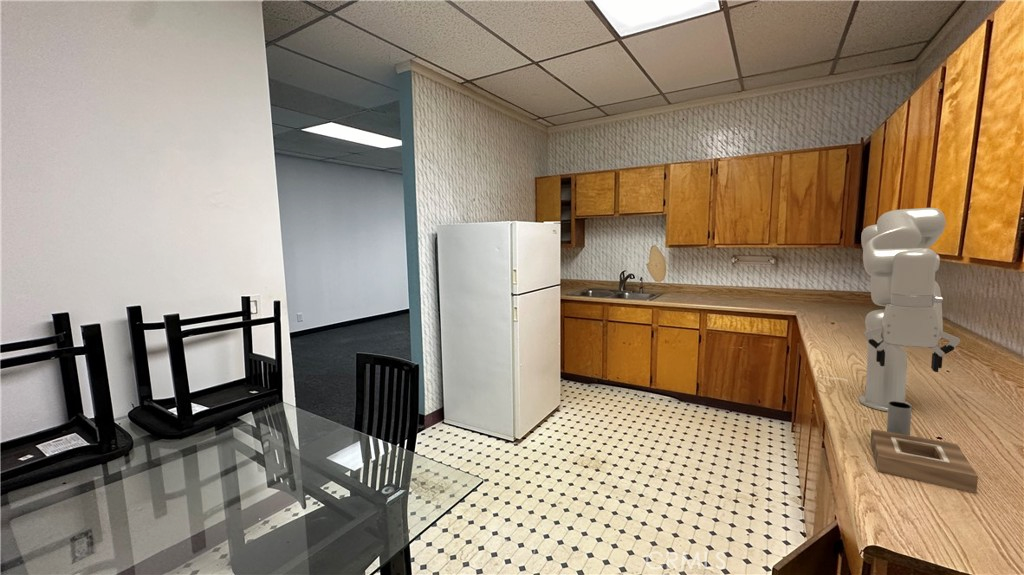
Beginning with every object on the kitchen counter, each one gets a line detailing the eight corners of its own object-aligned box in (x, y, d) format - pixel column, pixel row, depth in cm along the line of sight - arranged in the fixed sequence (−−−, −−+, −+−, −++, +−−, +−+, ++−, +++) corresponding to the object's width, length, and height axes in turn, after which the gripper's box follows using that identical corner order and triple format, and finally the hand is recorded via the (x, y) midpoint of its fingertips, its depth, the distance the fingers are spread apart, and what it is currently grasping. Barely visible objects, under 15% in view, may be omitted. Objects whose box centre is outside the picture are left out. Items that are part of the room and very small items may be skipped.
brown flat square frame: (870, 442, 110) (871, 428, 109) (956, 459, 100) (957, 443, 100) (877, 471, 97) (878, 455, 97) (976, 493, 88) (977, 475, 87)
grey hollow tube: (885, 434, 113) (887, 399, 112) (908, 439, 110) (910, 403, 109) (887, 441, 110) (889, 405, 109) (910, 446, 107) (912, 409, 106)
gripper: (958, 300, 97) (953, 368, 99) (863, 297, 108) (861, 359, 110) (967, 305, 91) (961, 377, 93) (866, 301, 102) (863, 367, 104)
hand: (907, 367), depth 102 cm, fingers open, 9 cm apart
